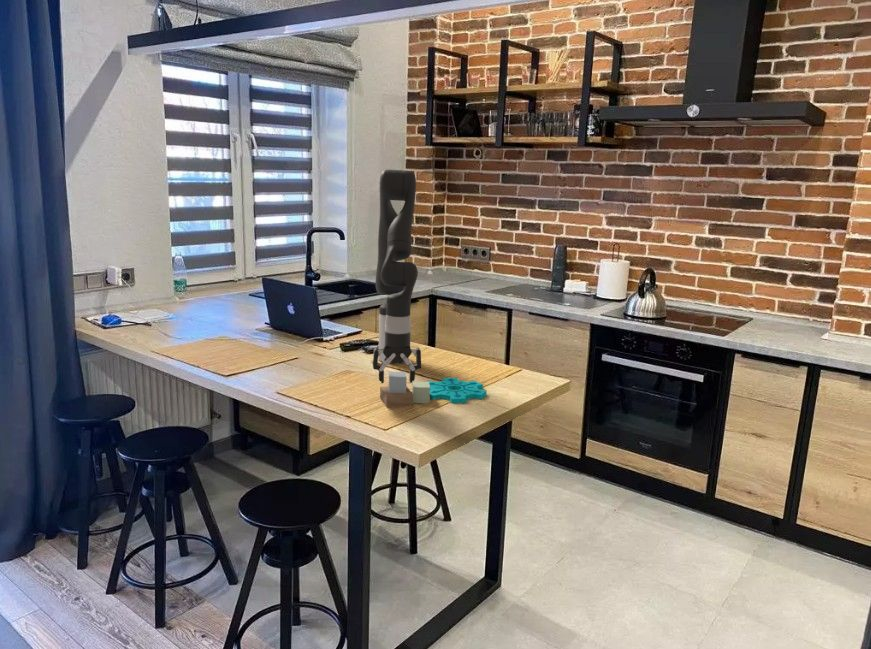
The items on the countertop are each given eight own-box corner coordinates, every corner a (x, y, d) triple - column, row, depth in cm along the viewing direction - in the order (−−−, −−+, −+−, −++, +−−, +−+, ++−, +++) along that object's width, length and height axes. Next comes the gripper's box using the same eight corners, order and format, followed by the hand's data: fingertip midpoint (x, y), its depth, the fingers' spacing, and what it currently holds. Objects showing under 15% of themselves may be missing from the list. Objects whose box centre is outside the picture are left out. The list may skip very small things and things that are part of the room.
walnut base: (380, 399, 199) (380, 386, 198) (405, 397, 202) (405, 385, 201) (386, 408, 192) (386, 395, 191) (412, 406, 195) (413, 393, 194)
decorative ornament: (490, 403, 199) (479, 382, 218) (490, 398, 199) (479, 377, 218) (426, 404, 197) (420, 382, 216) (426, 399, 196) (420, 378, 216)
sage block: (428, 397, 202) (412, 397, 201) (428, 382, 201) (412, 381, 200) (429, 403, 197) (412, 403, 196) (430, 387, 196) (413, 387, 195)
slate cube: (388, 387, 198) (388, 371, 197) (404, 387, 199) (405, 371, 197) (389, 393, 193) (389, 377, 192) (406, 393, 194) (406, 377, 193)
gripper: (420, 326, 196) (418, 378, 200) (372, 326, 194) (372, 378, 198) (423, 332, 189) (421, 386, 193) (374, 332, 187) (373, 386, 191)
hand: (396, 382), depth 195 cm, fingers open, 8 cm apart
